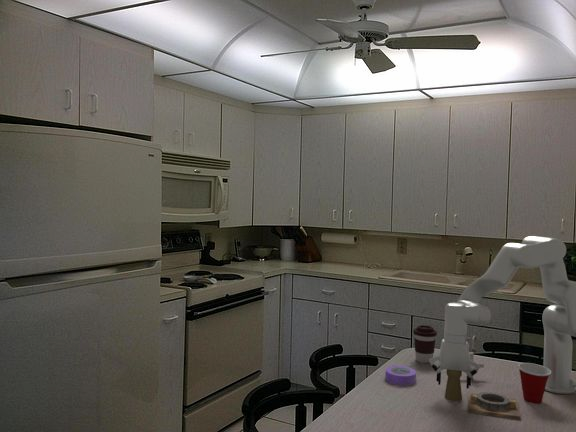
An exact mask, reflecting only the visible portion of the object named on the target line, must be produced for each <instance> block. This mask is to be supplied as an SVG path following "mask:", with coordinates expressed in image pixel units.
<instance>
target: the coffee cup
mask: <svg viewBox="0 0 576 432" xmlns="http://www.w3.org/2000/svg"><path fill="white" fill-rule="evenodd" d="M437 333H438V332H437V330H435V328H434V327H433V326H430V325H425V324H424V325H423V324H422V325H418V326H416V327H415V328H413V335H414V337H413V338H414V339H413V340H414V351H415V352H414V353H415V360H416V361H417V362H419V363H422V364H430V362H429V359H431V358H433V357H434V353H435V347H436V337H437Z"/></svg>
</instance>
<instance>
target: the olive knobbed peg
mask: <svg viewBox="0 0 576 432" xmlns="http://www.w3.org/2000/svg"><path fill="white" fill-rule="evenodd" d="M462 374H463V371H456V370H447V369H446V376H447V379H446V386H445V391H444V399H446V400H447V401H451V402H461V401H463V394H462V385H461V383H462V382H461V377H462V376H463V375H462Z"/></svg>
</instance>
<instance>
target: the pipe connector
mask: <svg viewBox="0 0 576 432" xmlns="http://www.w3.org/2000/svg"><path fill="white" fill-rule="evenodd" d="M469 359H471V360H472V361H474V352H473V351H469ZM476 363H477V364H479V365H480V368H482V369H483V368H485V364H484V363H485V362H484V363H483V362H476ZM474 368H475V367H474V366H473V365H471V364H470V363H469V370H470V371H472V370H473V369H474ZM480 368H479V369H480ZM473 377H474V375H473V376H472V377H471V379H473Z"/></svg>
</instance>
